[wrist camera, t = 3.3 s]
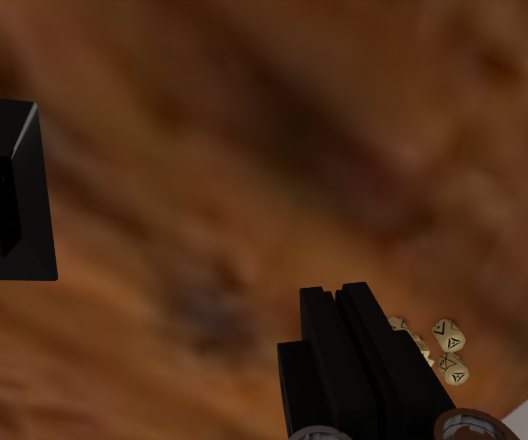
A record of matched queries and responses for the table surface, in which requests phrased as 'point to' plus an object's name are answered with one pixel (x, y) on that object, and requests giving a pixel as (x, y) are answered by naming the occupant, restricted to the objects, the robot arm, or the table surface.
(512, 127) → the table surface
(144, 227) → the table surface
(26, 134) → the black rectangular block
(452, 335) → the dice set
